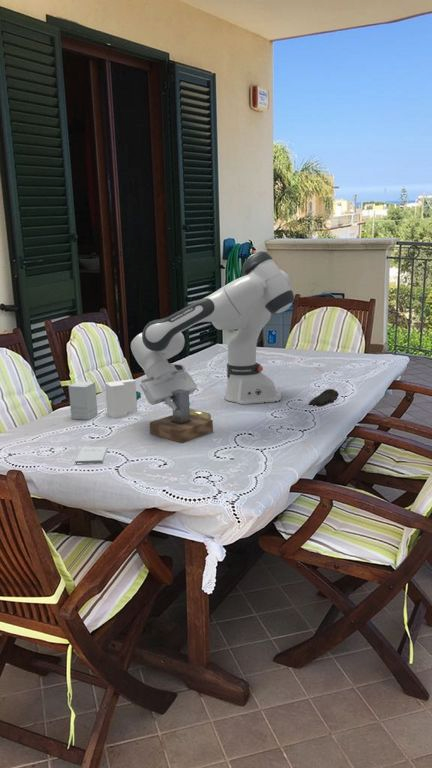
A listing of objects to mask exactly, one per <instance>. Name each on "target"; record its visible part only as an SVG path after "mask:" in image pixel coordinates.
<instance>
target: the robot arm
mask: <svg viewBox="0 0 432 768" xmlns="http://www.w3.org/2000/svg"><path fill="white" fill-rule="evenodd" d="M240 276H241V277H238V278H236V279H234V280H231V282H229V283H227V284H226V285H224V286H222V287H220V288H218V289H217V290H216V291H214V292H213V293H211V294H209V295H207V296H205V297H203V298H201V299H199V300H198V301H195V302H192V303H191V304H189V305H187V306H185V307H183V308H182V309H180V310H178V311H176V312H174V313H172V314H171V315H168V316H167V317H164V318H160V319H154V320H152V321H151V320H150V321H148V323H147V324H145V326H144V328H143V330H142V332H140V333H138V334H137V335H136V336H135V337H133V339H132V341H131V342H130V349H131V352H132V355H133V357H134V358H135V361H136V362H137V363H138V365H139V366H140V367H141V368H142V370H143V371H144V374H145V377H146V378H144V379H141V380H140V382H139V386H140V388H141V389H142V391H143V394H144V397H145V399H146V400H147V403H149V404H150V405H151V406H153V405H157V404H161V403H164V404H165V405H166V406H168V407H169V408H171V410H172V412H173V411H175V410H178V408H179V407H178V406H177V403H176V404H174V403H173V402H172V396H173V394H172V391H175V390H179V389H183V390H187V391H189V395H191V394H193V393H195V391H196V390H197V388H198V386H197V383H196V381H195V380H194V378H193V377H192V375H190V373H189V372H187V371H185V370H186V367H185V365H183V364H177V363H176V364H175V363H171V362H169V361H168V360H169V359H171V358H173V357H175V356H177V355H178V354H180V353H181V352H182V351H183V350H184V348H185V344H186V339H185V336H184V334H183V332H184V331H186V330H187V329H189V328H191V327H193V326H194V325H196V324H199V323H206V322H209V323H211V324H212V325H213V327H214V328H215V329H217V330H220V331H221V330H222V331H236V330H237V332H236V335H235V336H234V337H233V338H232V339H231V340H230V341H229V342H228V345H227V364H226V377H227V385H226V390H225V395H224V399H225V400H226V401H228V402H233V403H237V404H240V405H251V404H263V403H264V402H265V403H275V401H277V402H279V400H280V401H281V400H282V394H281V393H280V392H279V391H278V390H277V389H276V384H275V382H274V381H273V380H272V379H271V378H270V377H268V376H267V375H266V374H264V373H263V372H262V371H264V370H263V369H264V367H263V366H262V365H261V364H260V363H259V362H256V361H257V344H258V339H259V336H260V334H261V332H262V330H263V328H264V327H265V325H267V324H268V322H269V321H270V320H271V317H272V314H273V315H274V314H280V313H283V312H286V311H287V310H289V308H290V307H291V306H292V305H293V304H294V301H295V295H294V292H293V290H292V289H291V284H292V282H291V278H290V276H289V274H288V273H287V272H286V271H283V269H280V268H279V267H278V265H277V264H276V263H275V261H274V260H273V257H272V256H271V255H270V254H269V253H268V252H267V251H259V252H255V253H253V254H251V255H250V256H249V257H247V259H246V260H244V262H243V265H242V271H241V274H240ZM190 406H191V402H190V401H189V407H190Z"/></svg>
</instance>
